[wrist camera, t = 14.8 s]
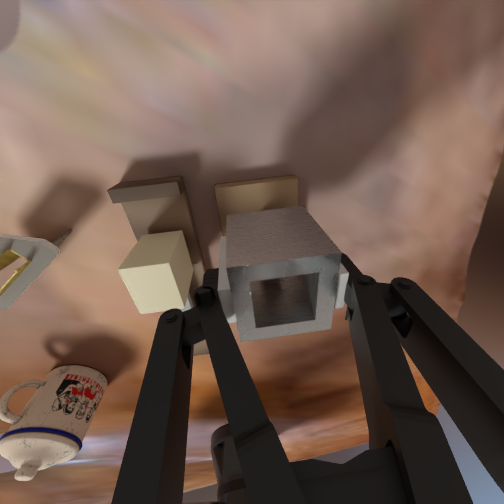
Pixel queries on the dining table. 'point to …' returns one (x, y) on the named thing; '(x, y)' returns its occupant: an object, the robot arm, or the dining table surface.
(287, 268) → the grey hollow square block
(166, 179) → the rail
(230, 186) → the square plate with peg
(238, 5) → the dining table surface
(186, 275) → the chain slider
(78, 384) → the teacup with lid
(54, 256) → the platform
